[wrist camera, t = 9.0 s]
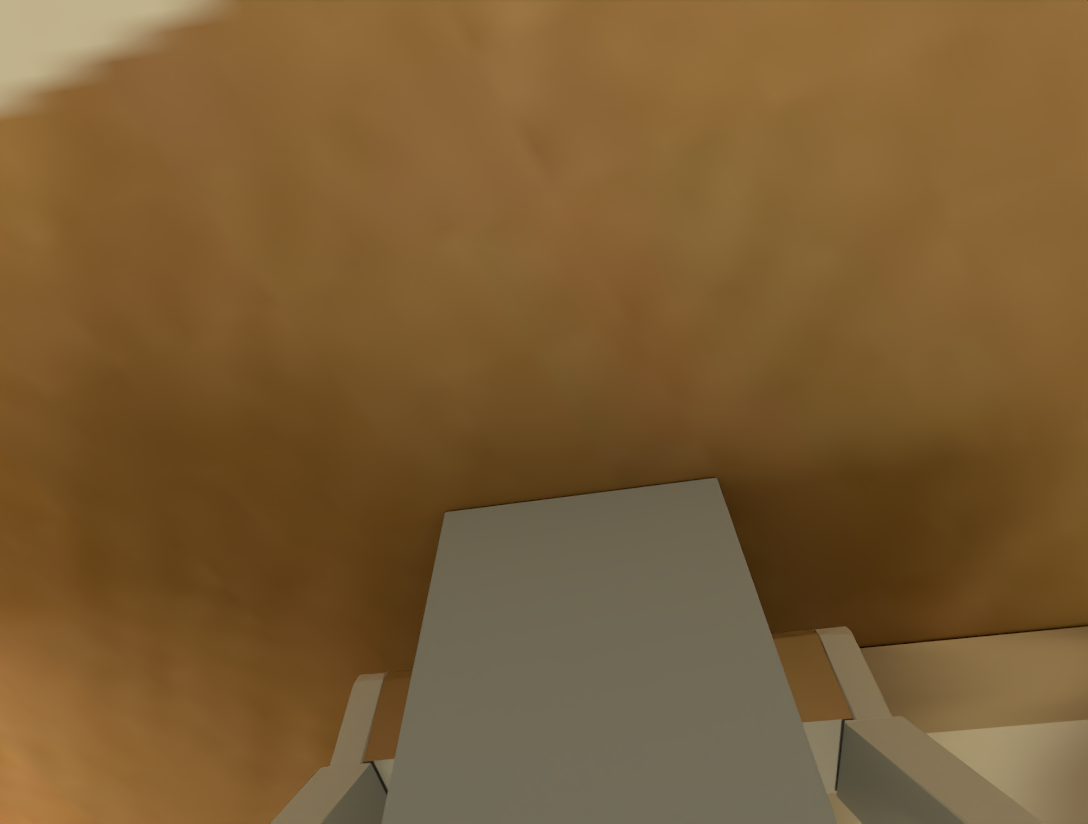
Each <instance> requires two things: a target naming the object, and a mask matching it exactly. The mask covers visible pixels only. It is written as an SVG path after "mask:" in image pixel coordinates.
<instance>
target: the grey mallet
mask: <svg viewBox="0 0 1088 824" xmlns="http://www.w3.org/2000/svg"><path fill="white" fill-rule="evenodd" d="M381 824H837V821H836V819H835V816H834V813H833V810H832V807H831V804H830V801H829V798H828V796H827V793H826V790H825V787H824V784H823V781H822V778H821V776H820V773H819V770H818V767H817V764H816V761H815V758H814V755H813V753H812V750H811V747H810V744H809V741H808V738H807V735H806V732H805V730H804V727H803V724H802V721H801V718H800V715H799V712H798V709H797V707H796V704H795V701H794V698H793V695H792V692H791V689H790V686H789V684H788V681H787V678H786V675H785V672H784V669H783V666H782V664H781V661H780V658H779V655H778V652H777V649H776V646H775V643H774V641H773V638H772V635H771V632H770V629H769V626H768V623H767V620H766V618H765V615H764V612H763V609H762V606H761V603H760V600H759V597H758V595H757V592H756V589H755V586H754V583H753V580H752V577H751V574H750V572H749V569H748V566H747V563H746V560H745V557H744V554H743V552H742V549H741V546H740V543H739V540H738V537H737V534H736V531H735V529H734V526H733V523H732V520H731V517H730V514H729V511H728V508H727V506H726V503H725V500H724V497H723V494H722V491H721V488H720V485H719V483H718V480H717V478H710V479H702V480H694V481H686V482H678V483H671V484H663V485H655V486H647V487H639V488H631V489H623V490H616V491H608V492H600V493H592V494H584V495H576V496H569V497H561V498H553V499H545V500H537V501H529V502H522V503H514V504H506V505H498V506H490V507H482V508H475V509H467V510H459V511H451V512H445V514H444V519H443V524H442V529H441V534H440V539H439V544H438V549H437V553H436V558H435V563H434V568H433V573H432V578H431V583H430V588H429V593H428V598H427V602H426V607H425V612H424V617H423V622H422V627H421V632H420V637H419V642H418V647H417V651H416V656H415V661H414V666H413V671H412V676H411V681H410V686H409V691H408V696H407V701H406V705H405V710H404V715H403V720H402V725H401V730H400V735H399V740H398V745H397V750H396V754H395V759H394V764H393V769H392V774H391V779H390V784H389V789H388V794H387V799H386V803H385V808H384V813H383V818H382V823H381Z"/></svg>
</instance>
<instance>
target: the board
mask: <svg viewBox="0 0 1088 824" xmlns="http://www.w3.org/2000/svg"><path fill="white" fill-rule="evenodd" d="M860 650H861V652H862V654H863V657H864V659H865V661H866V663H867V665H868V667H869V669H870V671H871V673H872V675H873V677H874V679H875V681H876V683H877V686H878V688H879V690H880V692H881V694H882V696H883V698H884V700H885V702H886V704H887V706H888V708H889V710H890V713H891V715H892V716H903V717H905V718H906V719H907V720H909V721H910V722H911V723H912V724H914V725H915V726H916V727H918V728H919V729H920V730H922V731H923V732H924V733H926V734H927V735H928V736H930V737H931V738H932V739H934V740H935V741H936V742H938V743H939V744H940V745H941V746H943V747H944V748H945V749H947V750H948V751H949V752H951V753H952V754H953V755H955V756H956V757H957V758H959V759H960V760H961V761H963V762H964V763H965V764H966V765H968V766H969V767H970V768H972V769H973V770H974V771H976V772H977V773H978V774H980V775H981V776H982V777H984V778H985V779H986V780H988V781H989V782H990V783H991V784H993V785H994V786H995V787H997V788H998V789H999V790H1001V791H1002V792H1003V793H1005V794H1006V795H1007V796H1009V797H1010V798H1011V799H1013V800H1014V801H1015V802H1017V803H1018V804H1019V805H1020V806H1022V807H1023V808H1024V809H1026V810H1027V811H1028V812H1030V813H1031V814H1032V815H1034V816H1035V817H1036V818H1038V819H1039V820H1040V821H1042V822H1043V823H1044V824H1088V626H1087V627H1076V628H1066V629H1056V630H1045V631H1035V632H1025V633H1014V634H1004V635H994V636H983V637H973V638H963V639H953V640H942V641H932V642H922V643H911V644H901V645H891V646H880V647H870V648H860ZM836 795H837V793H827V796H828V798H829V801H830V804H831V807H832V810H833V813H834V816H835V819H836V821H837V824H862V823H861V822H860V821H859V819H858V818H857V817H856V816H855V815H854V814H853V813H852V812H851V811H850V810H849V809H848V808H847V807H846V806H845V805H844V804H843V802H842V801H841V800H840V799H839V798H838V797H837V796H836Z"/></svg>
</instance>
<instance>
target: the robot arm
mask: <svg viewBox="0 0 1088 824" xmlns="http://www.w3.org/2000/svg"><path fill="white" fill-rule="evenodd" d="M771 635H772V638H773V641H774V643H775V646H776V649H777V652H778V655H779V658H780V661H781V664H782V666H783V669H784V672H785V675H786V678H787V681H788V684H789V686H790V689H791V692H792V695H793V698H794V701H795V704H796V707H797V709H798V712H799V715H800V718H801V721H802V724H803V727H804V730H805V732H806V735H807V738H808V741H809V744H810V747H811V750H812V753H813V755H814V758H815V761H816V764H817V767H818V770H819V773H820V776H821V778H822V781H823V784H824V787H825V790H826V793H837V795H836V796H837V797H838V798H839V799H840V800H841V801H842V802H843V804H844V805H845V806H846V807H847V808H848V809H849V810H850V811H851V812H852V813H853V814H854V815H855V816H856V817H857V818H858V819H859V821H860V822H861V823H862V824H1044V823H1043V822H1042V821H1040V820H1039V819H1038V818H1036V817H1035V816H1034V815H1032V814H1031V813H1030V812H1028V811H1027V810H1026V809H1024V808H1023V807H1022V806H1020V805H1019V804H1018V803H1017V802H1015V801H1014V800H1013V799H1011V798H1010V797H1009V796H1007V795H1006V794H1005V793H1003V792H1002V791H1001V790H999V789H998V788H997V787H995V786H994V785H993V784H991V783H990V782H989V781H988V780H986V779H985V778H984V777H982V776H981V775H980V774H978V773H977V772H976V771H974V770H973V769H972V768H970V767H969V766H968V765H966V764H965V763H964V762H963V761H961V760H960V759H959V758H957V757H956V756H955V755H953V754H952V753H951V752H949V751H948V750H947V749H945V748H944V747H943V746H941V745H940V744H939V743H938V742H936V741H935V740H934V739H932V738H931V737H930V736H928V735H927V734H926V733H924V732H923V731H922V730H920V729H919V728H918V727H916V726H915V725H914V724H912V723H911V722H910V721H909V720H907V719H906V718H905V717H903V716H892V715H891V713H890V710H889V708H888V706H887V704H886V702H885V700H884V698H883V696H882V694H881V692H880V690H879V688H878V686H877V683H876V681H875V679H874V677H873V675H872V673H871V671H870V669H869V667H868V665H867V663H866V661H865V659H864V657H863V654H862V652H861V650H860V648H859V646H858V644H857V642H856V640H855V638H854V636H853V634H852V632H851V631H850V630H849V629H848V628H847V627H846V626H842V627H833V628H823V629H814V630H812V629H807V630H798V631H789V632H781V633H772V634H771ZM412 671H413V670H409V671H396V672H383V673H372V674H361V675H359V676H358V678H357V679H356V681H355V682H354V684H353V687H352V690H351V694H350V697H349V701H348V704H347V708H346V711H345V714H344V718H343V721H342V725H341V728H340V731H339V735H338V738H337V742H336V745H335V749H334V752H333V755H332V759H331V762H330V766H326V767H321V768H320V769H319V770H318V771H317V772H316V773H315V774H314V775H313V776H312V778H311V779H310V780H309V781H308V782H307V783H306V784H305V785H304V786H303V787H302V789H301V790H300V791H299V792H298V793H297V794H296V795H295V796H294V797H293V798H292V800H291V801H290V802H289V803H288V804H287V805H286V806H285V807H284V808H283V810H282V811H281V812H280V813H279V814H278V815H277V816H276V817H275V818H274V819H273V821H272V822H271V823H270V824H381V823H382V818H383V813H384V808H385V803H386V799H387V794H388V789H389V784H390V779H391V774H392V769H393V764H394V759H395V754H396V750H397V745H398V740H399V735H400V730H401V725H402V720H403V715H404V710H405V705H406V701H407V696H408V691H409V686H410V681H411V676H412Z"/></svg>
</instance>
